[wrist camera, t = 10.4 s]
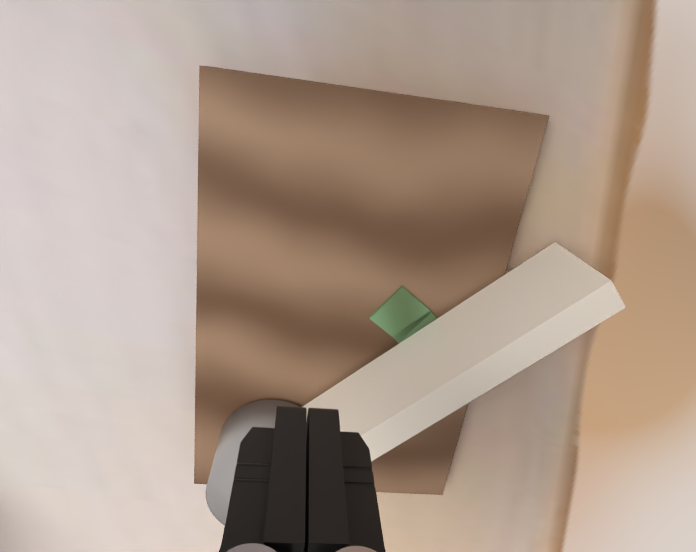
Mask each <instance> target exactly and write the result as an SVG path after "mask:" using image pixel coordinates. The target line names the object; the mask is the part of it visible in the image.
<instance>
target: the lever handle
mask: <svg viewBox="0 0 696 552" xmlns="http://www.w3.org/2000/svg"><path fill="white" fill-rule="evenodd" d="M624 308H626V307H625V305H624V303H623V301H622V299H621V297H620V296H619V294H618V292H617V290H616V288H615V286H614V285H613V283H612V281H611V280H610V279H608V278H607V277H605V276H604V275H603V274H601V273H600V272H598V271H597V270H595V269H594V268H592V267H591V266H589V265H588V264H587V263H585V262H584V261H582V260H581V259H579V258H578V257H576V256H575V255H573V254H572V253H571V252H569V251H568V250H566V249H565V248H563V247H562V246H560V245H559V244H557V243H556V242H554V243H553V244H551V245H550V246H548V247H546V248H545V249H543V250H542V251H540V252H539V253H537V254H536V255H534V256H533V257H531V258H530V259H528V260H527V261H525V262H523V263H522V264H520V265H519V266H517V267H516V268H514V269H513V270H511V271H510V272H508V273H507V274H505V275H504V276H502V277H500V278H499V279H497V280H496V281H494V282H493V283H491V284H490V285H488V286H487V287H485V288H484V289H482V290H480V291H479V292H477V293H476V294H474V295H473V296H471V297H470V298H468V299H467V300H465V301H464V302H462V303H461V304H459V305H457V306H456V307H454V308H453V309H451V310H450V311H448V312H447V313H445V314H444V315H442V316H441V317H439V318H438V319H436V320H434V321H433V322H431V323H430V324H428V325H427V326H425V327H424V328H422V329H421V330H419V331H418V332H416V333H415V334H413V335H411V336H410V337H408V338H407V339H405V340H404V341H402V342H401V343H399V344H398V345H396V346H395V347H393V348H392V349H390V350H388V351H387V352H385V353H384V354H382V355H381V356H379V357H378V358H376V359H375V360H373V361H372V362H370V363H368V364H367V365H365V366H364V367H362V368H361V369H359V370H358V371H356V372H355V373H353V374H352V375H350V376H349V377H347V378H345V379H344V380H342V381H341V382H339V383H338V384H336V385H335V386H333V387H332V388H330V389H329V390H327V391H326V392H324V393H322V394H321V395H319V396H318V397H316V398H315V399H313V400H312V401H310V402H309V403H307V404H306V405H304V406H303V407H305V408H306V410H307V413H308V408H324V409H338V411H339V421H340V431H341V432H358V433H359V434H360V436H361V437H362V439H363V440H364V442H365V443H366V445H367V446H368V448H369V450H370V457H371V461H373V460H375V459H376V458H378V457H380V456H381V455H383V454H385V453H386V452H388V451H390V450H391V449H393V448H395V447H396V446H398V445H400V444H401V443H403V442H404V441H406V440H408V439H409V438H411V437H413V436H414V435H416V434H418V433H419V432H421V431H423V430H424V429H426V428H428V427H429V426H431V425H433V424H434V423H436V422H438V421H439V420H441V419H443V418H444V417H446V416H447V415H449V414H451V413H452V412H454V411H456V410H457V409H459V408H461V407H462V406H464V405H466V404H467V403H469V402H471V401H472V400H474V399H476V398H477V397H479V396H481V395H482V394H484V393H485V392H487V391H489V390H490V389H492V388H494V387H495V386H497V385H499V384H500V383H502V382H504V381H505V380H507V379H509V378H510V377H512V376H514V375H515V374H517V373H519V372H520V371H522V370H523V369H525V368H527V367H528V366H530V365H532V364H533V363H535V362H537V361H538V360H540V359H542V358H543V357H545V356H547V355H548V354H550V353H552V352H553V351H555V350H557V349H558V348H560V347H562V346H563V345H565V344H566V343H568V342H570V341H571V340H573V339H575V338H576V337H578V336H580V335H581V334H583V333H585V332H586V331H588V330H590V329H591V328H593V327H595V326H596V325H598V324H600V323H601V322H603V321H604V320H606V319H608V318H609V317H611V316H613V315H614V314H616V313H618V312H619V311H621V310H623V309H624ZM277 406H288V407H299V406H297V405H295V404H293V403H290V402H286V401H281V400H260V401H255V402H252V403H249V404H246V405H244V406H242V407H240V408H239V409H237V410H236V411H234V412H233V413H232V414H231V415H230V416H229V417H228V418H227V420H226V421H225V423H224V425H223V427H222V430H221V433H220V437H219V440H218V444H217V448H216V452H215V456H214V460H213V464H212V467H211V471H210V475H209V479H208V483H207V487H206V501H207V504H208V507H209V509H210V511H211V512H212V514H213V515H214V516H215V518H216V519H217V520H218V521H220V522H221V523H222V524H223V525H225V523H226V518H227V512H228V507H229V501H230V496H231V491H232V485H233V481H234V474H235V469H236V465H237V458H238V453H239V447H240V442H241V441H242V440H243V439H244V437H245V436H246V435H247V433H248V432H249V431H250V429H251V428H252V427H265V428H275V420H276V410H277ZM306 421H307V415H306Z"/></svg>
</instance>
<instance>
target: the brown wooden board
mask: <svg viewBox="0 0 696 552" xmlns="http://www.w3.org/2000/svg"><path fill="white" fill-rule="evenodd" d="M548 119H549V116H547V115H541V114H535V113H528V112H521V111H515V110H508V109H501V108H494V107H487V106H480V105H473V104H466V103H459V102H452V101H445V100H438V99H431V98H424V97H417V96H410V95H403V94H396V93H389V92H382V91H375V90H368V89H361V88H355V87H348V86H341V85H334V84H327V83H320V82H313V81H306V80H299V79H292V78H285V77H278V76H271V75H264V74H257V73H250V72H243V71H236V70H229V69H222V68H215V67H208V66H200V73H199V152H198V230H197V309H196V388H195V466H194V484H207V483H208V479H209V475H210V471H211V467H212V464H213V460H214V456H215V452H216V448H217V444H218V440H219V437H220V433H221V430H222V427H223V425H224V423H225V421H226V420H227V418H228V417H229V416H230V415H231V414H232V413H233V412H234V411H236V410H237V409H239V408H240V407H242V406H244V405H246V404H249V403H252V402H255V401H260V400H281V401H286V402H290V403H293V404H295V405H297V406H299V407H303V406H304V405H306V404H307V403H309V402H310V401H312V400H313V399H315V398H316V397H318V396H319V395H321V394H322V393H324V392H326V391H327V390H329V389H330V388H332V387H333V386H335V385H336V384H338V383H339V382H341V381H342V380H344V379H345V378H347V377H349V376H350V375H352V374H353V373H355V372H356V371H358V370H359V369H361V368H362V367H364V366H365V365H367V364H368V363H370V362H372V361H373V360H375V359H376V358H378V357H379V356H381V355H382V354H384V353H385V352H387V351H388V350H390V349H392V348H393V347H395V346H396V345H398V344H399V343H401V342H402V341H404V340H405V339H407V338H408V337H410V336H411V335H413V334H415V333H416V332H418V331H419V330H421V329H422V328H424V327H425V326H427V325H428V324H430V323H431V322H433V321H434V320H436V319H438V318H439V317H441V316H442V315H444V314H445V313H447V312H448V311H450V310H451V309H453V308H454V307H456V306H457V305H459V304H461V303H462V302H464V301H465V300H467V299H468V298H470V297H471V296H473V295H474V294H476V293H477V292H479V291H480V290H482V289H484V288H485V287H487V286H488V285H490V284H491V283H493V282H494V281H496V280H497V279H499V278H500V277H502V276H504V275H505V271H506V268H507V264H508V261H509V257H510V254H511V250H512V247H513V243H514V239H515V236H516V232H517V229H518V225H519V222H520V218H521V215H522V211H523V208H524V204H525V200H526V197H527V193H528V190H529V186H530V183H531V179H532V176H533V172H534V169H535V165H536V161H537V158H538V154H539V151H540V147H541V144H542V140H543V137H544V133H545V130H546V126H547V122H548ZM467 406H468V403H467V404H466V405H464V406H462V407H461V408H459V409H457V410H456V411H454V412H452V413H451V414H449V415H447V416H446V417H444V418H443V419H441V420H439V421H438V422H436V423H434V424H433V425H431V426H429V427H428V428H426V429H424V430H423V431H421V432H419V433H418V434H416V435H414V436H413V437H411V438H409V439H408V440H406V441H404V442H403V443H401V444H400V445H398V446H396V447H395V448H393V449H391V450H390V451H388V452H386V453H385V454H383V455H381V456H380V457H378V458H376V459H375V460H373V461H371V463H372V471H373V476H374V487H375V489H376V492H391V493H414V494H436V495H443V491H444V487H445V484H446V480H447V477H448V473H449V470H450V466H451V463H452V459H453V456H454V452H455V448H456V445H457V441H458V438H459V434H460V431H461V427H462V424H463V420H464V417H465V413H466V410H467Z"/></svg>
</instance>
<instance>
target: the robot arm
mask: <svg viewBox="0 0 696 552" xmlns="http://www.w3.org/2000/svg"><path fill="white" fill-rule="evenodd" d="M306 415H307V421H306ZM219 552H385V548H384V542H383V535H382V529H381V522H380V516H379V509H378V503H377V496H376V489H375V487H374V476H373V471H372V463H371V457H370V450H369V448H368V446H367V445H366V443H365V442H364V440H363V439H362V437H361V436H360V434H359V433H358V432H341V431H340V421H339V411H338V409H324V408H308V413H307V410H306V408H305V407H288V406H277V410H276V420H275V428H265V427H252V428H251V429H250V431H249V432H248V433H247V435H246V436H245V437H244V439H243V440H242V441H241V442H240V447H239V453H238V458H237V465H236V469H235V474H234V481H233V485H232V491H231V496H230V501H229V507H228V512H227V518H226V523H225V528H224V534H223V539H222V544H221V548H220V550H219Z"/></svg>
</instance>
